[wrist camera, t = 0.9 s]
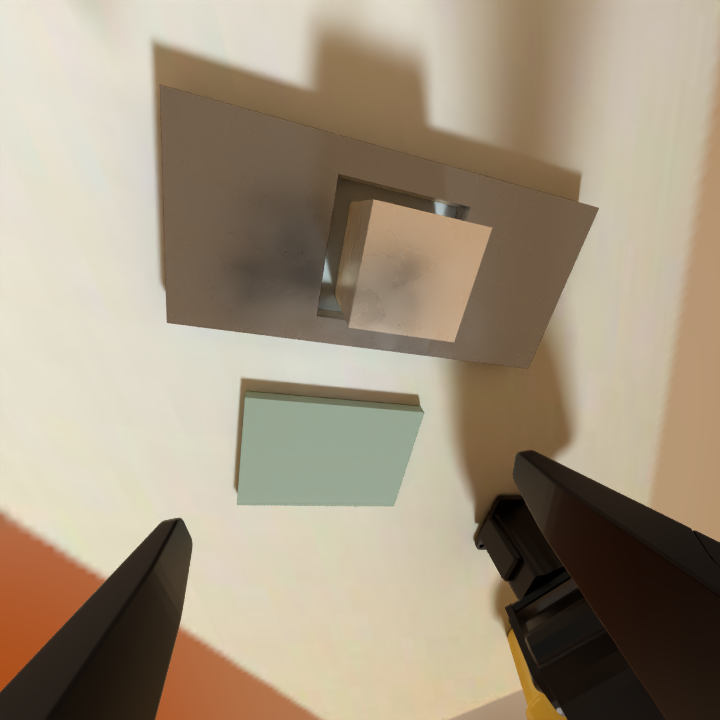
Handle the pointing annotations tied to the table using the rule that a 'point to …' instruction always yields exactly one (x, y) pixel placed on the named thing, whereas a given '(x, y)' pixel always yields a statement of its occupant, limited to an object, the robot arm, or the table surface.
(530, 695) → the plant pot
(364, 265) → the pale wooden block
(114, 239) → the table surface
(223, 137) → the grey flat plate
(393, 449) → the teal pad
